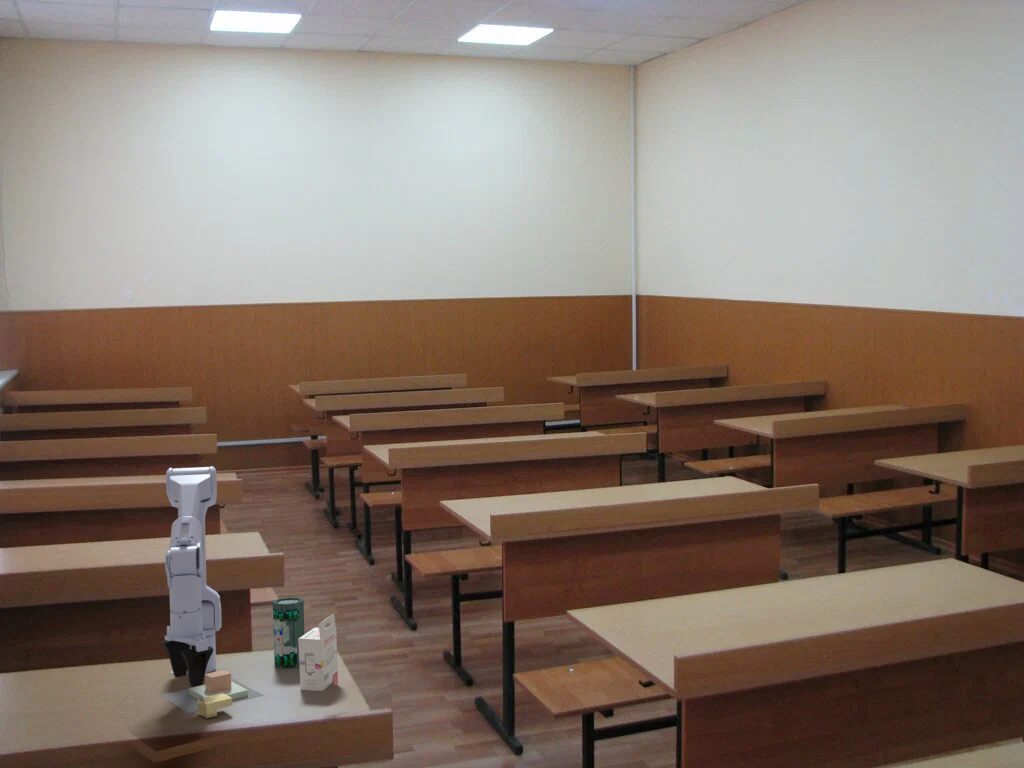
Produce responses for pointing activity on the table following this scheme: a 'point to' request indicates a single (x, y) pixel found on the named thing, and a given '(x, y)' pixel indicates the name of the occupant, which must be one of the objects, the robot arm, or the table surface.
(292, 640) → the can
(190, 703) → the flat gray mat
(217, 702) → the yellow stepped block
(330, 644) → the ink cartridge box
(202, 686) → the pink rectangular block
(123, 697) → the table surface
